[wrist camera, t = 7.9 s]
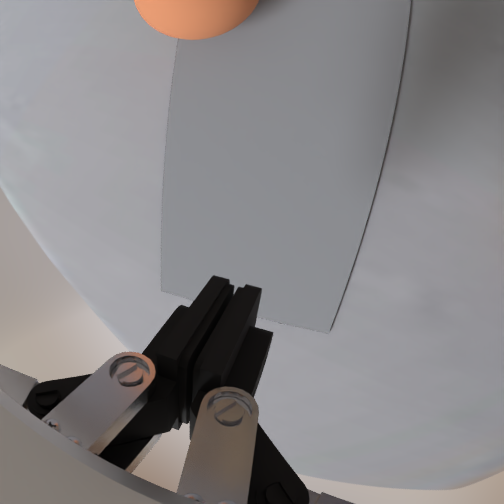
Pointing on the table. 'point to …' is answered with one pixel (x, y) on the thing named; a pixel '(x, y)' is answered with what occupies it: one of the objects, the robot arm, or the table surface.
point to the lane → (280, 152)
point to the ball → (194, 16)
